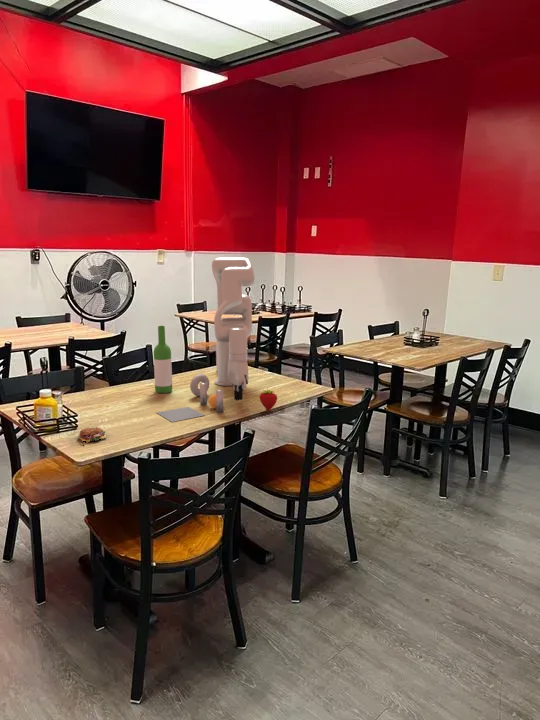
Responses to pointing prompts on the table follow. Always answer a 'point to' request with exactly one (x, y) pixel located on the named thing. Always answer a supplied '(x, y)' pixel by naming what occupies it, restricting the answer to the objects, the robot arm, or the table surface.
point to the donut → (195, 382)
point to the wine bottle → (162, 364)
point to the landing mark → (180, 414)
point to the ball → (212, 401)
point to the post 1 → (203, 393)
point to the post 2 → (219, 401)
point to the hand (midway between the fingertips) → (238, 399)
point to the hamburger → (91, 434)
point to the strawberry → (268, 399)
